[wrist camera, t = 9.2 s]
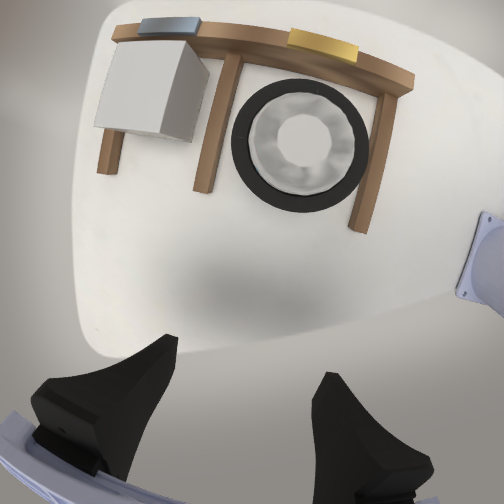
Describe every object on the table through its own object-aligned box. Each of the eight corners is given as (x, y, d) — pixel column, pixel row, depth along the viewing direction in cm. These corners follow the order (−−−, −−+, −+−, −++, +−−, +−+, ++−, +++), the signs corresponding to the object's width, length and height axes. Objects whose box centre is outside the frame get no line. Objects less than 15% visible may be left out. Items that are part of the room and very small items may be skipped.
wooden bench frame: (392, 89, 16) (418, 71, 12) (360, 229, 20) (382, 245, 15) (139, 43, 17) (112, 22, 12) (107, 172, 20) (71, 175, 15)
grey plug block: (209, 73, 17) (185, 40, 12) (191, 142, 19) (159, 132, 13) (155, 69, 17) (118, 42, 12) (138, 135, 19) (93, 126, 13)
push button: (342, 117, 17) (399, 74, 8) (348, 191, 19) (412, 211, 9) (247, 122, 18) (220, 77, 9) (254, 197, 20) (234, 222, 10)
